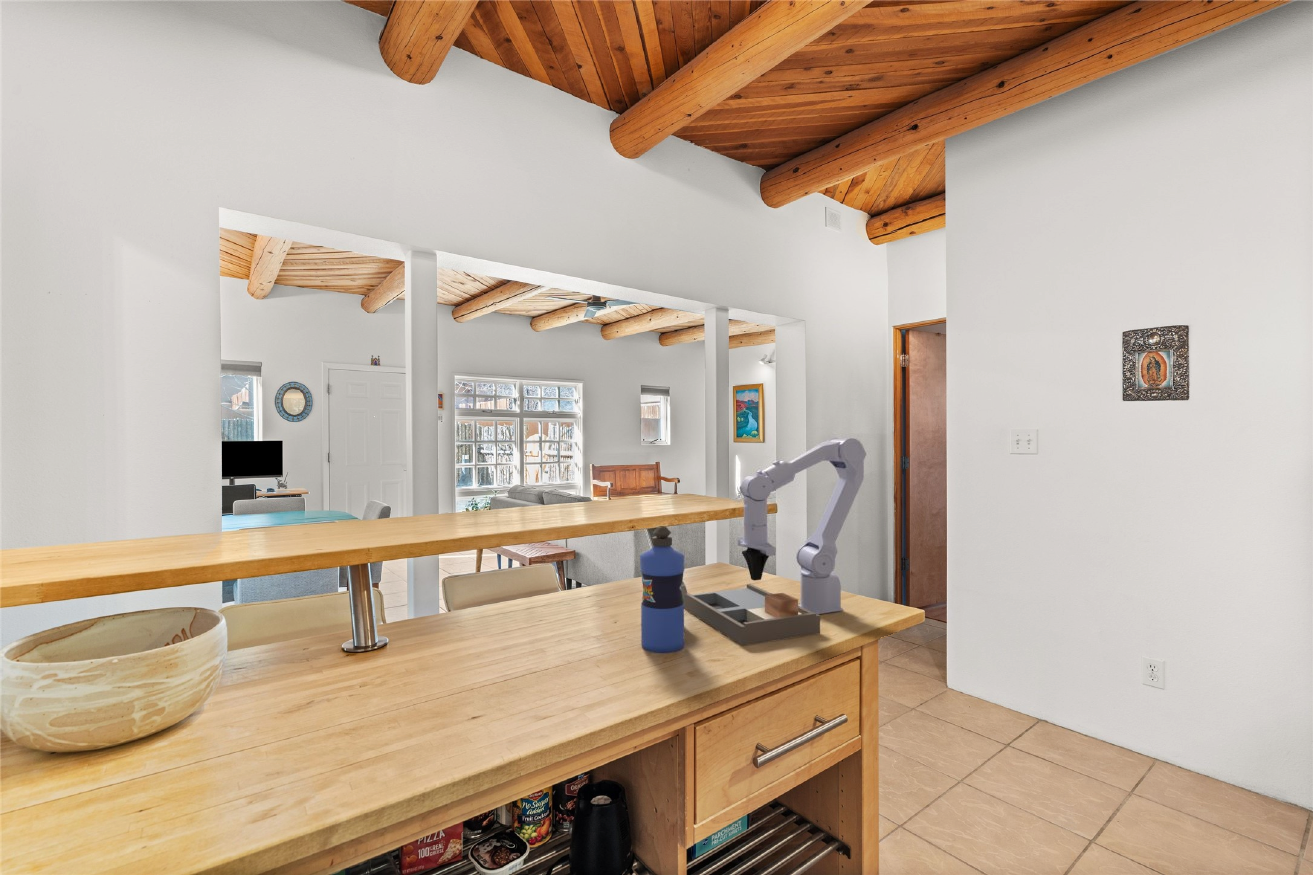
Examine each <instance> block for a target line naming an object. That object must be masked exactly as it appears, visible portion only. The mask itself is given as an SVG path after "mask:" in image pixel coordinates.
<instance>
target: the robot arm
mask: <svg viewBox="0 0 1313 875" xmlns="http://www.w3.org/2000/svg"><path fill="white" fill-rule="evenodd" d="M866 456H867V452H866V450H865V448H864V446H863V444H862V443H861V441H860V440H858V439H857V438H851V437H850V438H838V437H833V438H830V439H828V440H826V441H823V442H821V443H819V444H817V445H816V446H814V447H812V448H810V449H809V450H808V451H805V452H804V453H802V454H800V455H799V456H797V457H796V458H793V459H792V460H790V461H789V462H788V461H785V460H781V461H780V460H775V461H773V462H772V465H770V466H769V467H766V468H765V469H763V470H761V469H759V470H757V471H756V475H747V476H746V477H745V478H744V479H743V480H742V481H741V485H740V486H739V491H740V493H741V495H742V496H743V537H738V538H737V546H738V547H742V548H746V550H742V551H741V554H742V556H743V558H744V559H745V562H746V565H747V568H748V572H749V576H750V579H751V580H752V581H755V582H756V581H761V580H762V578H763V572H764V569H765V566H766V563H767V562H768V559H769V558H770V557H772V556H776V555H777V554H776V547H775V546H773V545H772V544H770V543H769V542H768V498H769V497H770V495H771V493H772V492H775V491H777V490H778V489H780V488H782V487H784V486H785V485H788V484H790V483H791V482H793V481H794V479H795V478H796V474H798V473H800V472H802V471H804V470H806V469H808V468H810V467H813V466H815V465H817V464H819V463H821V462H823V461H825V462H826V461H827V462H829V464H831V466H833V467H834V469H835V471H836V473H837V474H838V480H837V483H836V485H835V487H834V489H833V492H832V494H831V496H830V498H829V501H828V503H827V505H826V508H825V510H824V512H823V514H822V516H821V519H820V520H819V522H818V525H817V527H816V529H815V531H814V533H813V534H812V535H810V536H809V537H808V538H807V539H806V541H805V543H804V544H803V545H801V546H800V547H799V548H798V550H797V552H796V562H797V564H798V566H800V603H798V606H800V607H803V608H805V609H807V610H809V611H811V612H814V613H816V614H818V615H822V614H829V613H836V612H842V611H844V609H843V607H842V605H841V604H842V602H841V601H842V599H841V598H842V596H841V595H842V594H841V593H842V590H841V588H842V586H841V581H840V578H839V576H838V575H837V574H836V573H834V572H833V571H834V569H835V567H836V556H837V554H838V548H837V545H836V540H837V539H838V537H839V535H840V532H841V530H842V527H843V526H844V524H845V521H846V519H847V517H848V514H849V512H850V510H851V508H852V505H853V503H854V501H855V499H856V497H857V494H858V493H859V490H860V488H861V486H862V484H863V481H864V479H865V476H864V473H865V470H864V463H865V462H864V461H865V459H866Z"/></svg>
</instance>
